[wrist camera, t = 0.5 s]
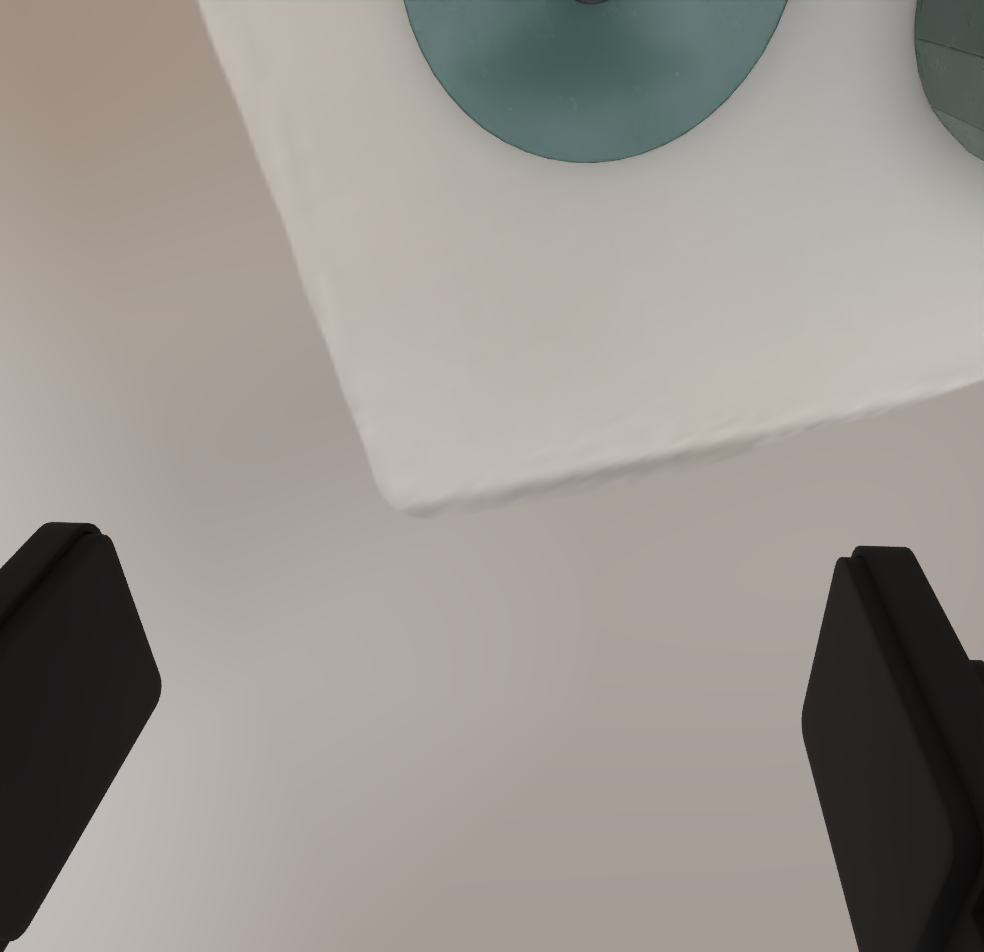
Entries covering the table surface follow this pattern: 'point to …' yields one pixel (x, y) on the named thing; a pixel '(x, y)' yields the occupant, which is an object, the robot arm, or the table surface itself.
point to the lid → (591, 67)
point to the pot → (953, 66)
